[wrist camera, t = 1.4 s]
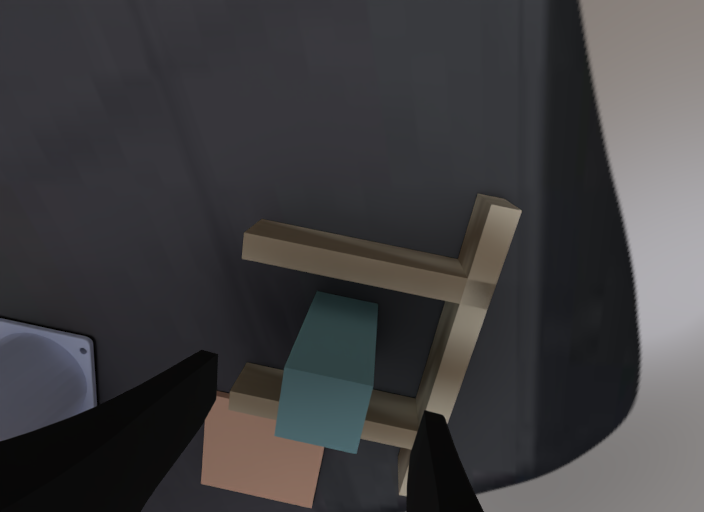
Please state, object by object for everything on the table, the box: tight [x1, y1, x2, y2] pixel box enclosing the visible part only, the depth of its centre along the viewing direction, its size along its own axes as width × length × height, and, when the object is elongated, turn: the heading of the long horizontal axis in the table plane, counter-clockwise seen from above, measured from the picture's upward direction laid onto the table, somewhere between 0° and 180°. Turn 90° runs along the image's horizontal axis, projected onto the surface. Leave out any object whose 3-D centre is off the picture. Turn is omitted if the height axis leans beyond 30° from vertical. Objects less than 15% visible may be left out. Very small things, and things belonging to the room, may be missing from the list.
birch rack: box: [228, 194, 522, 496], centre depth 23 cm, size 20×14×3 cm
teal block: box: [274, 291, 378, 454], centre depth 21 cm, size 4×4×8 cm
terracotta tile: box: [201, 391, 324, 508], centre depth 29 cm, size 9×9×1 cm
